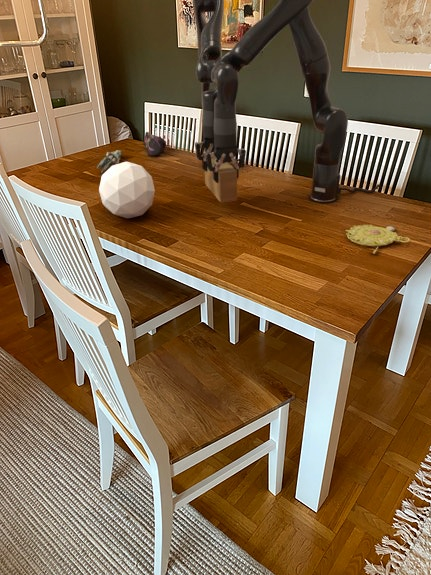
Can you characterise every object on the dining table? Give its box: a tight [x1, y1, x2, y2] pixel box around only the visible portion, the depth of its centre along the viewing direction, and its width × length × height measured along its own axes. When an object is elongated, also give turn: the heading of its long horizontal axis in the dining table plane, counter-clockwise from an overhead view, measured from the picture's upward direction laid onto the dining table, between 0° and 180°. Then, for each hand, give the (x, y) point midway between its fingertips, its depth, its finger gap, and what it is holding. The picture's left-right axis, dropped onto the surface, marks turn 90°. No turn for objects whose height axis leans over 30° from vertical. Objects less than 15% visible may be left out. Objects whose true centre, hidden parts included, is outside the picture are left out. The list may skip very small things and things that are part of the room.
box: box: [203, 155, 238, 203], centre depth 160 cm, size 20×6×11 cm, turn 17°
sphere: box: [98, 160, 156, 220], centre depth 157 cm, size 19×20×20 cm
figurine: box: [96, 150, 123, 174], centre depth 213 cm, size 7×8×30 cm
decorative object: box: [345, 223, 411, 255], centre depth 140 cm, size 21×2×20 cm
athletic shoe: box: [143, 131, 170, 157], centre depth 230 cm, size 11×22×12 cm
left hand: (214, 169), depth 165 cm, fingers closed on box, 6 cm apart
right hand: (226, 180), depth 154 cm, fingers closed on box, 6 cm apart
